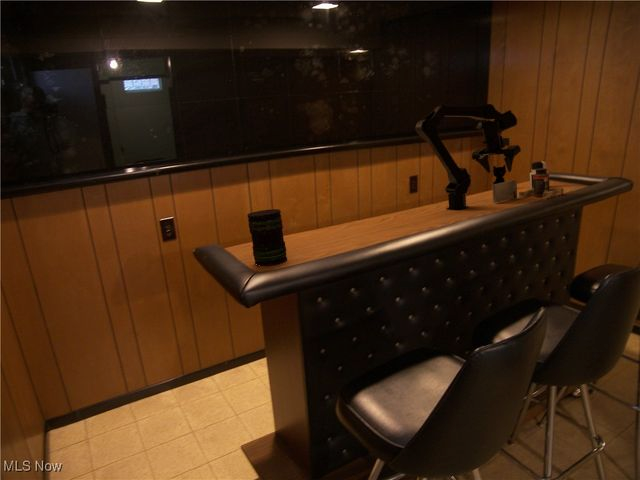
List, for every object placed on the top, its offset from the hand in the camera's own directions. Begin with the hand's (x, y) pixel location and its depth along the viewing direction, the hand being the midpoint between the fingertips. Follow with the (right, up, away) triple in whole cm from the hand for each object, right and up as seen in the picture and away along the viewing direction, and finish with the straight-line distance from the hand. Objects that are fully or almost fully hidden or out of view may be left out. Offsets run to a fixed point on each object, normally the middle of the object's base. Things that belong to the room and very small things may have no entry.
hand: (499, 172), depth 186 cm
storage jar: (-88, -34, -51) cm, 107 cm away
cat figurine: (+13, -4, +33) cm, 36 cm away
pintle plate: (+7, -11, +3) cm, 13 cm away
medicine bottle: (+28, -4, +24) cm, 37 cm away
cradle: (+18, -10, +2) cm, 21 cm away
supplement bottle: (+18, -10, +2) cm, 21 cm away
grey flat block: (+3, -11, 0) cm, 12 cm away
